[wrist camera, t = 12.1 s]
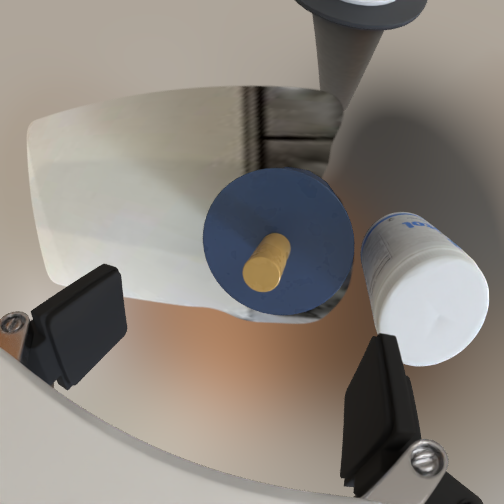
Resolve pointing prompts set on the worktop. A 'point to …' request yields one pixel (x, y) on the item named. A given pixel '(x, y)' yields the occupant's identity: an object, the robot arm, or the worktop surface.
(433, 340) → the supplement tub
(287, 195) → the lid
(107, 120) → the worktop surface
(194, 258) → the worktop surface
